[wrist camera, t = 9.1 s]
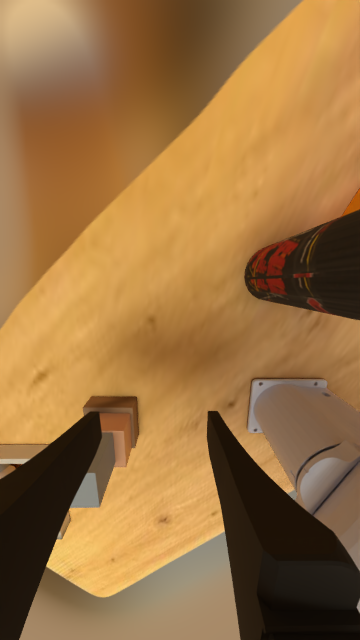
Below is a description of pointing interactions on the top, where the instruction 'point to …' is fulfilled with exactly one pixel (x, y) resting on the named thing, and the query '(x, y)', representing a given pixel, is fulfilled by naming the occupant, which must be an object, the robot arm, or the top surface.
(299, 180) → the top surface
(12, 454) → the grey tray rim
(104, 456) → the slate cube
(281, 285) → the deodorant
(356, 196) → the orange juice
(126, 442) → the terracotta slab
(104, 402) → the walnut slab
